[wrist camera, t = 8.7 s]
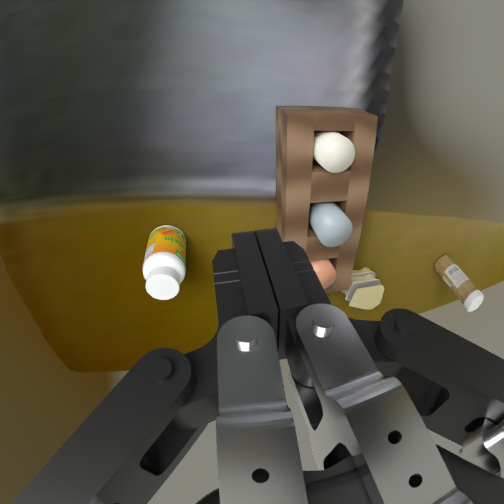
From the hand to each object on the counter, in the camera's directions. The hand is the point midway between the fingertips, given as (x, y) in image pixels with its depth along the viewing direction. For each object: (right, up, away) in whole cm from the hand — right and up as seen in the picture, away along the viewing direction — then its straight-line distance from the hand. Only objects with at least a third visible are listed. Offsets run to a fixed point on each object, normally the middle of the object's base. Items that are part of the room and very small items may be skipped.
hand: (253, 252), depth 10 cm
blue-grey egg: (+9, +5, +28) cm, 30 cm away
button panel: (+9, +7, +30) cm, 32 cm away
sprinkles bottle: (+41, -2, +44) cm, 60 cm away
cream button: (+9, +14, +24) cm, 29 cm away
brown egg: (+9, -1, +35) cm, 36 cm away
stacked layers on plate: (+19, -4, +42) cm, 46 cm away
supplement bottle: (-12, +2, +30) cm, 32 cm away
